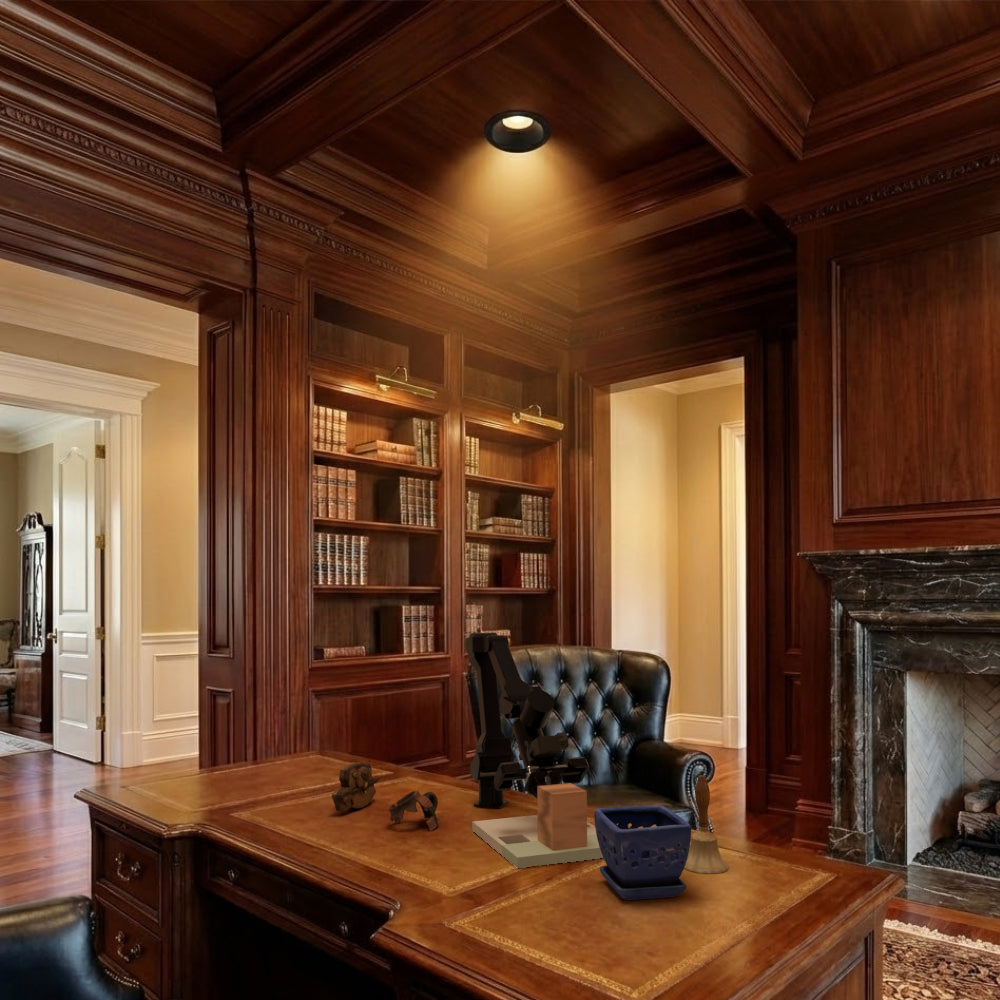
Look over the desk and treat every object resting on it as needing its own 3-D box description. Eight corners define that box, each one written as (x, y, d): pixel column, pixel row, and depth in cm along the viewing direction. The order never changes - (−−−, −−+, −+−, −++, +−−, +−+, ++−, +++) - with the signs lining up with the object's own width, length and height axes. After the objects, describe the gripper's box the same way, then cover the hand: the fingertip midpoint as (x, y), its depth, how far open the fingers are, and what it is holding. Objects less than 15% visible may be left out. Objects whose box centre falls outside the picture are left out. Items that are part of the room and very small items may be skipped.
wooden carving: (348, 818, 186) (349, 771, 187) (329, 817, 188) (330, 770, 189) (381, 800, 202) (382, 756, 203) (364, 799, 203) (364, 755, 204)
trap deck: (472, 831, 176) (472, 821, 177) (569, 821, 184) (569, 811, 184) (501, 855, 161) (501, 844, 161) (607, 843, 168) (607, 832, 168)
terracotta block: (537, 840, 164) (537, 786, 165) (571, 836, 166) (570, 783, 167) (552, 850, 157) (552, 794, 158) (587, 846, 160) (586, 791, 161)
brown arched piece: (427, 838, 174) (407, 801, 175) (395, 852, 178) (375, 816, 179) (456, 809, 184) (437, 775, 185) (426, 823, 189) (407, 789, 190)
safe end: (501, 855, 161) (501, 844, 161) (607, 843, 168) (607, 832, 168) (517, 869, 153) (517, 857, 153) (627, 855, 161) (627, 844, 161)
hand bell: (729, 875, 150) (727, 781, 151) (681, 872, 151) (679, 779, 153) (727, 860, 158) (724, 771, 159) (680, 858, 159) (679, 769, 161)
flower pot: (696, 901, 138) (694, 824, 139) (617, 907, 135) (616, 828, 136) (664, 873, 151) (663, 803, 152) (591, 879, 148) (591, 807, 149)
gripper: (498, 721, 169) (520, 791, 158) (584, 716, 176) (610, 783, 164) (485, 755, 176) (504, 825, 164) (568, 748, 182) (592, 815, 171)
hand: (554, 811), depth 166 cm, fingers closed, pressing on terracotta block
